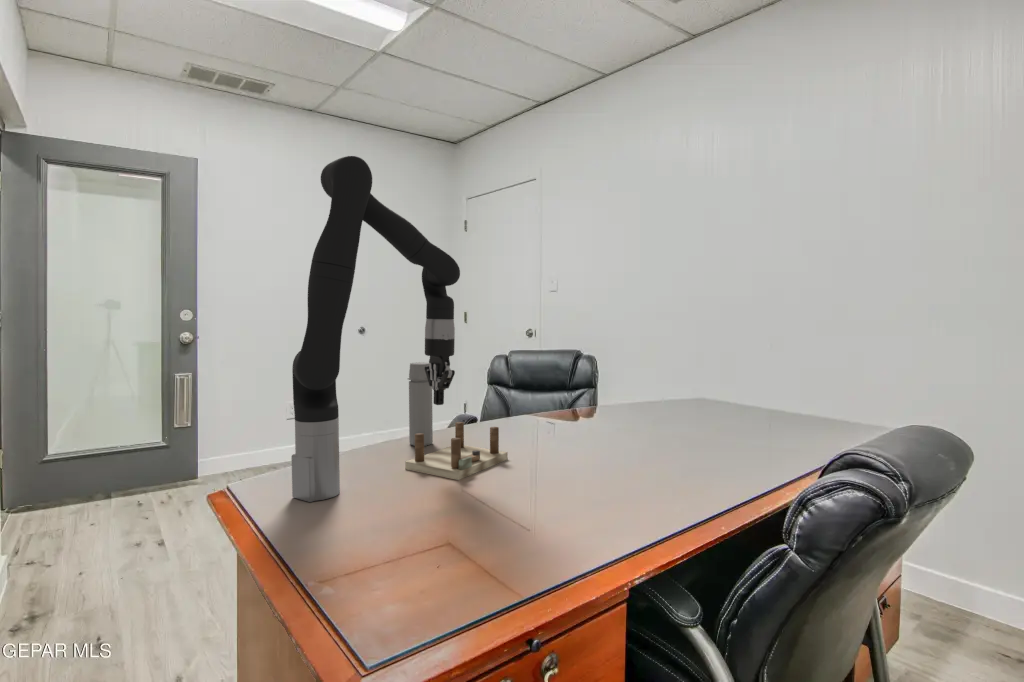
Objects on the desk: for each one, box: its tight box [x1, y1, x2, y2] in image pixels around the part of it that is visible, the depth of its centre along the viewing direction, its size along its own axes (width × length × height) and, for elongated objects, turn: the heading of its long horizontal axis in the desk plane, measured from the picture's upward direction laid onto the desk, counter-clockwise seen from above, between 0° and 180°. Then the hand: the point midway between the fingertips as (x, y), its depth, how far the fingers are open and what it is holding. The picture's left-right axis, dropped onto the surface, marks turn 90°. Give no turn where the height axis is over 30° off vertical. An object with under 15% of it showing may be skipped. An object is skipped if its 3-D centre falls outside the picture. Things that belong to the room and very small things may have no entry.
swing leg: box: [450, 437, 480, 468], centre depth 141 cm, size 11×2×7 cm, turn 148°
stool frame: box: [404, 421, 509, 481], centre depth 148 cm, size 22×17×9 cm
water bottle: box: [407, 361, 434, 447], centre depth 170 cm, size 9×8×25 cm
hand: (438, 404), depth 142 cm, fingers closed
